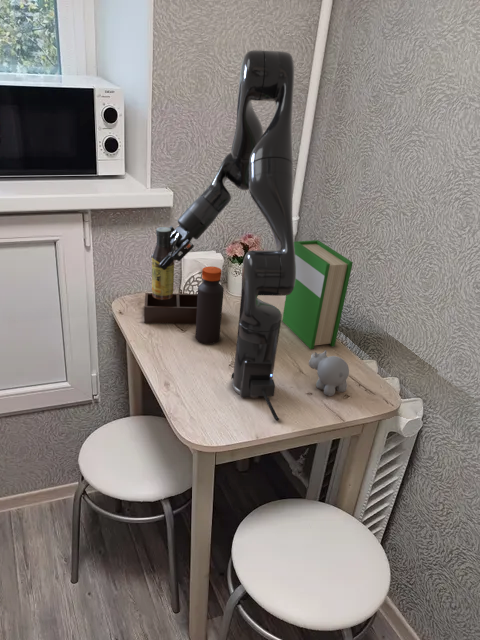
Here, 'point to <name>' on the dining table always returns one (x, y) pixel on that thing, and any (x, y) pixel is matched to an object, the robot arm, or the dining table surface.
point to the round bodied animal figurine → (330, 372)
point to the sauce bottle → (160, 277)
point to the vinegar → (209, 306)
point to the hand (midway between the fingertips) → (157, 263)
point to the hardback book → (317, 293)
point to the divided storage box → (171, 309)
